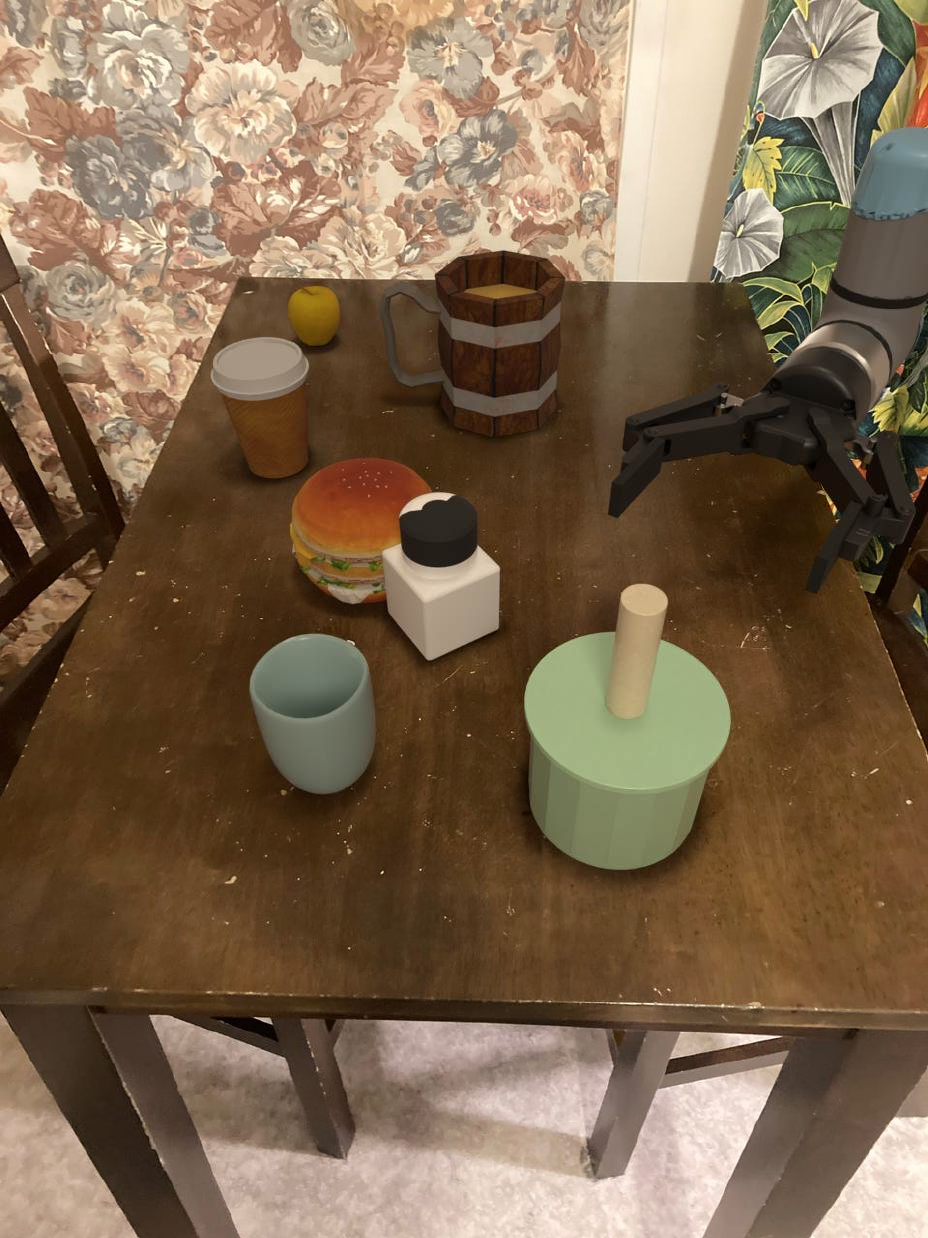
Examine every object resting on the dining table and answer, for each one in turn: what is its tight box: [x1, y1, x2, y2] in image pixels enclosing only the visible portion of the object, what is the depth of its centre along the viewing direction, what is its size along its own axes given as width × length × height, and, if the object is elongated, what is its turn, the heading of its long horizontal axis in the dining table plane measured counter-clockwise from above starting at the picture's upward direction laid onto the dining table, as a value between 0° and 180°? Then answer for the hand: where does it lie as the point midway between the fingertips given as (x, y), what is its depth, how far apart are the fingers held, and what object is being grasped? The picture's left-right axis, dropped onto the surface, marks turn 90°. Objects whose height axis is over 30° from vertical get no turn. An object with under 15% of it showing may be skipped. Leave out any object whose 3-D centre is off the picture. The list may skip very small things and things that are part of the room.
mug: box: [379, 249, 566, 438], centre depth 94 cm, size 20×14×15 cm
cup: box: [248, 633, 377, 795], centre depth 60 cm, size 8×8×10 cm
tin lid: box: [523, 583, 732, 795], centre depth 51 cm, size 13×13×10 cm
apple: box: [287, 285, 341, 347], centre depth 108 cm, size 6×6×8 cm
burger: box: [289, 457, 433, 605], centre depth 76 cm, size 13×14×10 cm
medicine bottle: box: [382, 491, 501, 661], centre depth 70 cm, size 7×7×12 cm
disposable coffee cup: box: [210, 336, 310, 479], centre depth 88 cm, size 10×10×12 cm
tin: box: [527, 735, 710, 871], centre depth 58 cm, size 12×12×10 cm
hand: (709, 536), depth 55 cm, fingers open, 13 cm apart
